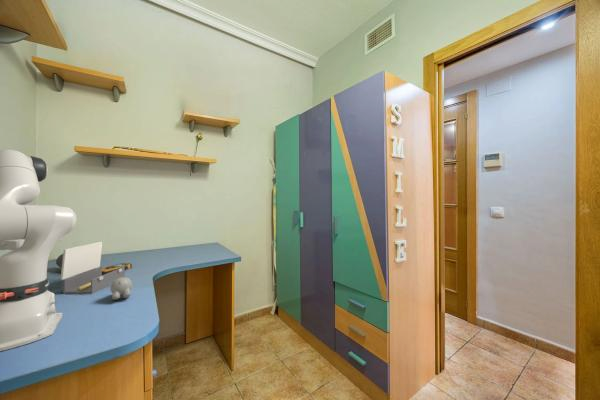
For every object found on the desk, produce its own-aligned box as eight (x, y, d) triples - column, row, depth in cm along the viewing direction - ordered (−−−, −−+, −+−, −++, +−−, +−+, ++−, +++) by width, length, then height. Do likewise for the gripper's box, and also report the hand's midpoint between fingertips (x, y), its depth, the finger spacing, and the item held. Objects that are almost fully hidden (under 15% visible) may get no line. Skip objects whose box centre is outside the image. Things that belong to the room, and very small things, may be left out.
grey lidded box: (94, 293, 101) (94, 279, 101) (63, 294, 101) (63, 280, 101) (126, 278, 121) (126, 267, 121) (100, 278, 121) (100, 267, 121)
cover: (65, 249, 101) (63, 249, 101) (62, 279, 101) (60, 279, 101) (102, 241, 121) (100, 241, 121) (99, 266, 121) (98, 266, 121)
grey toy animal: (131, 298, 103) (132, 278, 106) (132, 296, 95) (132, 274, 97) (110, 301, 99) (111, 281, 102) (109, 300, 90) (110, 277, 93)
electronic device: (93, 276, 127) (93, 269, 127) (121, 267, 142) (121, 262, 142) (105, 277, 125) (105, 270, 125) (132, 268, 140) (132, 263, 140)
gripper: (-6, 237, 99) (28, 237, 100) (44, 231, 120) (72, 231, 120) (-6, 252, 99) (28, 252, 100) (44, 243, 120) (72, 243, 120)
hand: (53, 240), depth 110 cm, fingers closed
